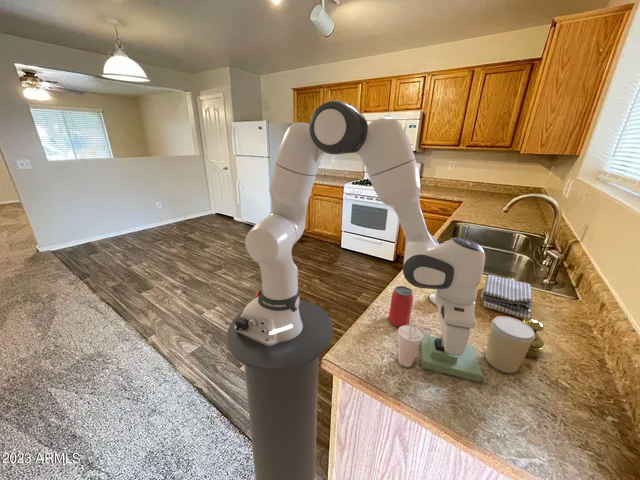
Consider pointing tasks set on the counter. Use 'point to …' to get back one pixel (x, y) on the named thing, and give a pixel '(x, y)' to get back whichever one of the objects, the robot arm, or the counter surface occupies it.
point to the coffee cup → (508, 343)
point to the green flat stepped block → (450, 360)
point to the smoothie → (408, 343)
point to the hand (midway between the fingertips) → (444, 343)
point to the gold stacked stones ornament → (538, 341)
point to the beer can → (401, 306)
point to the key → (439, 345)
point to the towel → (507, 296)
